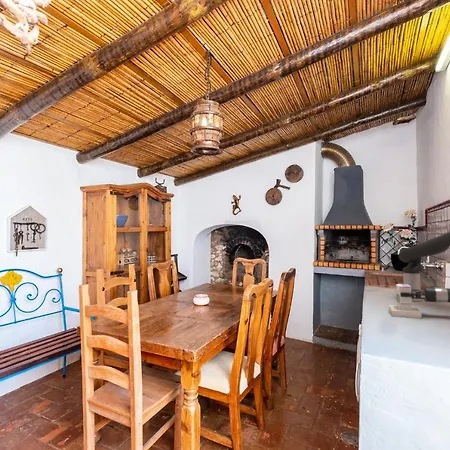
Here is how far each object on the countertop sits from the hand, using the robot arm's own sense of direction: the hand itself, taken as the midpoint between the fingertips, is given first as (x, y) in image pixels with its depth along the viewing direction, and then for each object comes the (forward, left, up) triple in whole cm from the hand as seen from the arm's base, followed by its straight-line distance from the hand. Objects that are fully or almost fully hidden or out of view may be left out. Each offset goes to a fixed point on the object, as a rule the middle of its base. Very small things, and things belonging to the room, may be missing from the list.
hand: (399, 293), depth 160 cm
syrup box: (0, +2, -10) cm, 10 cm away
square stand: (0, +2, -11) cm, 11 cm away
